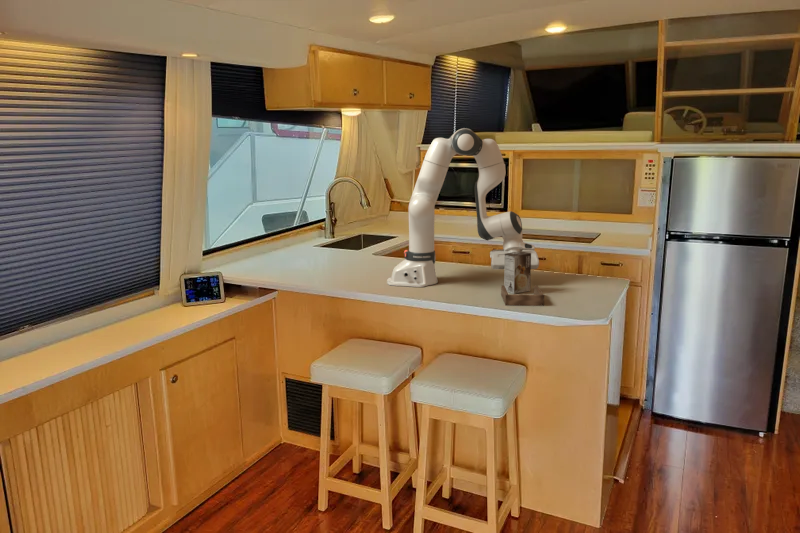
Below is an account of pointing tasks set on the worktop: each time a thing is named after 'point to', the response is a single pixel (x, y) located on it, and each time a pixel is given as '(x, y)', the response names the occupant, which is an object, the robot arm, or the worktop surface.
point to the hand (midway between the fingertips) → (516, 276)
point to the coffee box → (517, 272)
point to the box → (523, 298)
